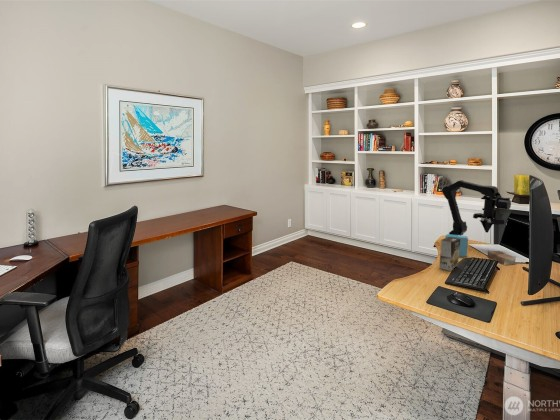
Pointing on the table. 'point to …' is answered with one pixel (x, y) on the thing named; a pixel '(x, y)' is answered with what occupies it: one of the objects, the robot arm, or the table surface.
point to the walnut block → (501, 257)
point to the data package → (461, 244)
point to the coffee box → (449, 253)
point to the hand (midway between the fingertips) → (486, 232)
